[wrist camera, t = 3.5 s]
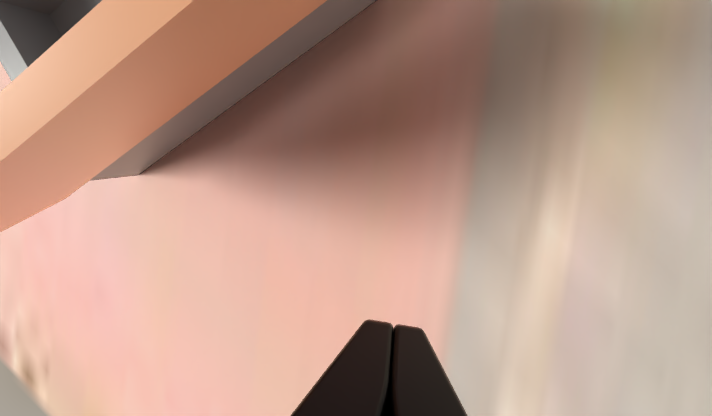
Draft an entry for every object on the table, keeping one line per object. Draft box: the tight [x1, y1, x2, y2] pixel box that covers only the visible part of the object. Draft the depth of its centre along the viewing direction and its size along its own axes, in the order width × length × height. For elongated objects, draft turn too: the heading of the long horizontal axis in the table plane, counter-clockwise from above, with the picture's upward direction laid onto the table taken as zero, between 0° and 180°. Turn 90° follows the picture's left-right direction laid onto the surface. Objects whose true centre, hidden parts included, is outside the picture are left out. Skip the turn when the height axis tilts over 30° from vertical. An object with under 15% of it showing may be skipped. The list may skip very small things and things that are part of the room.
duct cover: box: [0, 0, 327, 232], centre depth 13 cm, size 10×14×1 cm
